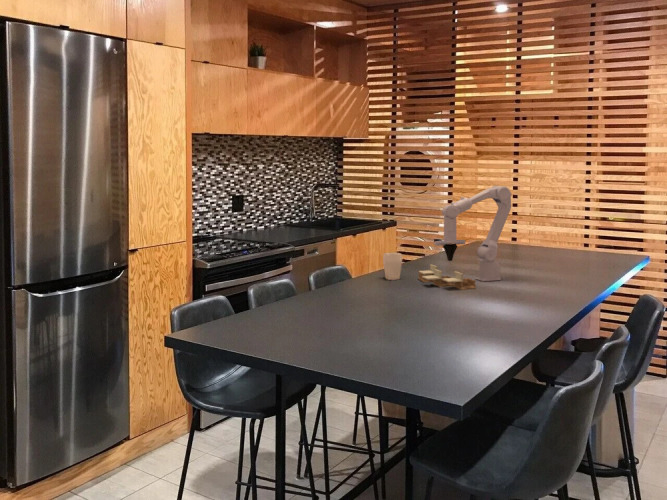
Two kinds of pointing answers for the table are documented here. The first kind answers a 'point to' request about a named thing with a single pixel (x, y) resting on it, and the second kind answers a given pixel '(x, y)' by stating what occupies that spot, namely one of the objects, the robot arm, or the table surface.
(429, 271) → the lid
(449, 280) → the lid
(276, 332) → the table surface
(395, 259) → the cup
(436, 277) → the lid
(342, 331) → the table surface
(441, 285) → the crates
